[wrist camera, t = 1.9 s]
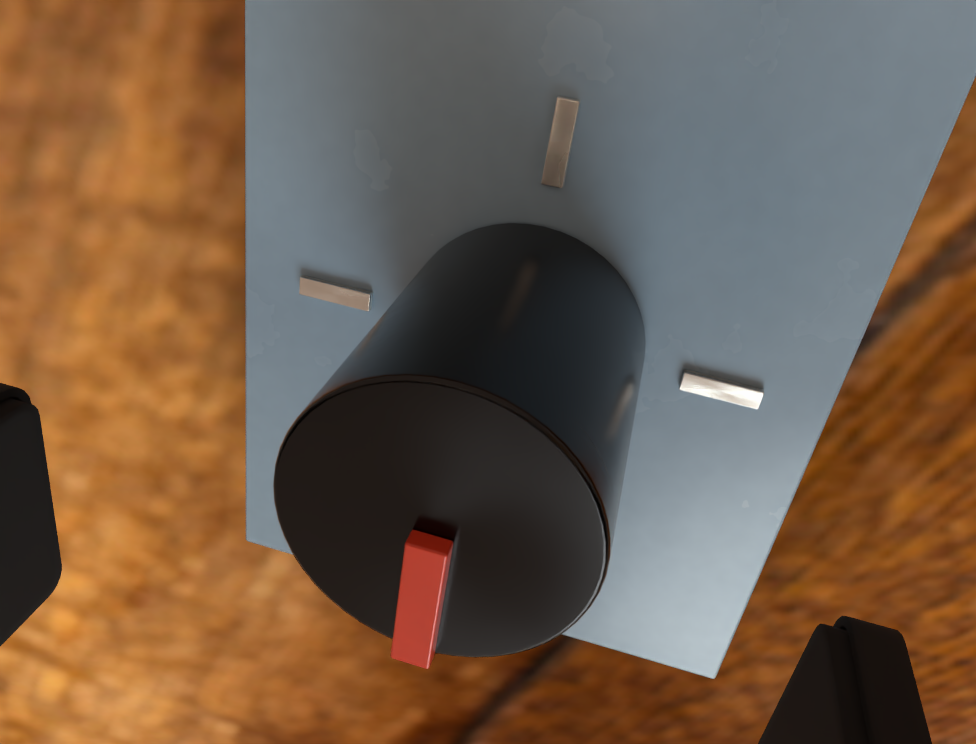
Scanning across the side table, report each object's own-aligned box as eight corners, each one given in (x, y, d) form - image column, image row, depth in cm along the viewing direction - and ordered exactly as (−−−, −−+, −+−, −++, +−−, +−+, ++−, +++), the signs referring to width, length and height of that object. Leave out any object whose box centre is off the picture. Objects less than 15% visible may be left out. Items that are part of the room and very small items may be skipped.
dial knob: (420, 196, 14) (261, 347, 9) (674, 254, 14) (647, 449, 9) (397, 408, 17) (258, 620, 12) (614, 466, 16) (565, 715, 11)
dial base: (313, -154, 14) (237, -166, 12) (973, -39, 13) (1026, -27, 11) (291, 479, 22) (241, 545, 19) (715, 599, 20) (715, 686, 18)
